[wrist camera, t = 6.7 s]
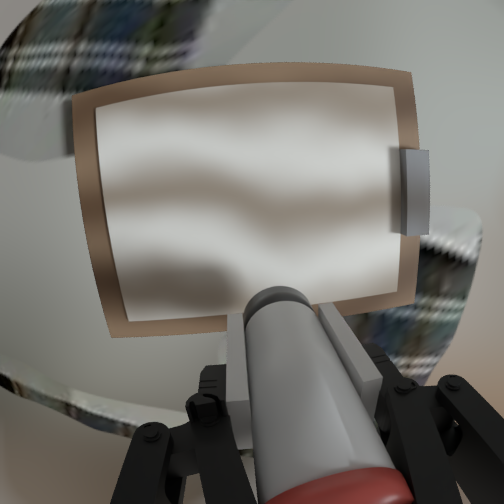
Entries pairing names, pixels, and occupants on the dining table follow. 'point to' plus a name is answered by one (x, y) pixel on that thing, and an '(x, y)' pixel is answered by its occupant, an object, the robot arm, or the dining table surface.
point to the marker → (309, 413)
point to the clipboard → (250, 191)
